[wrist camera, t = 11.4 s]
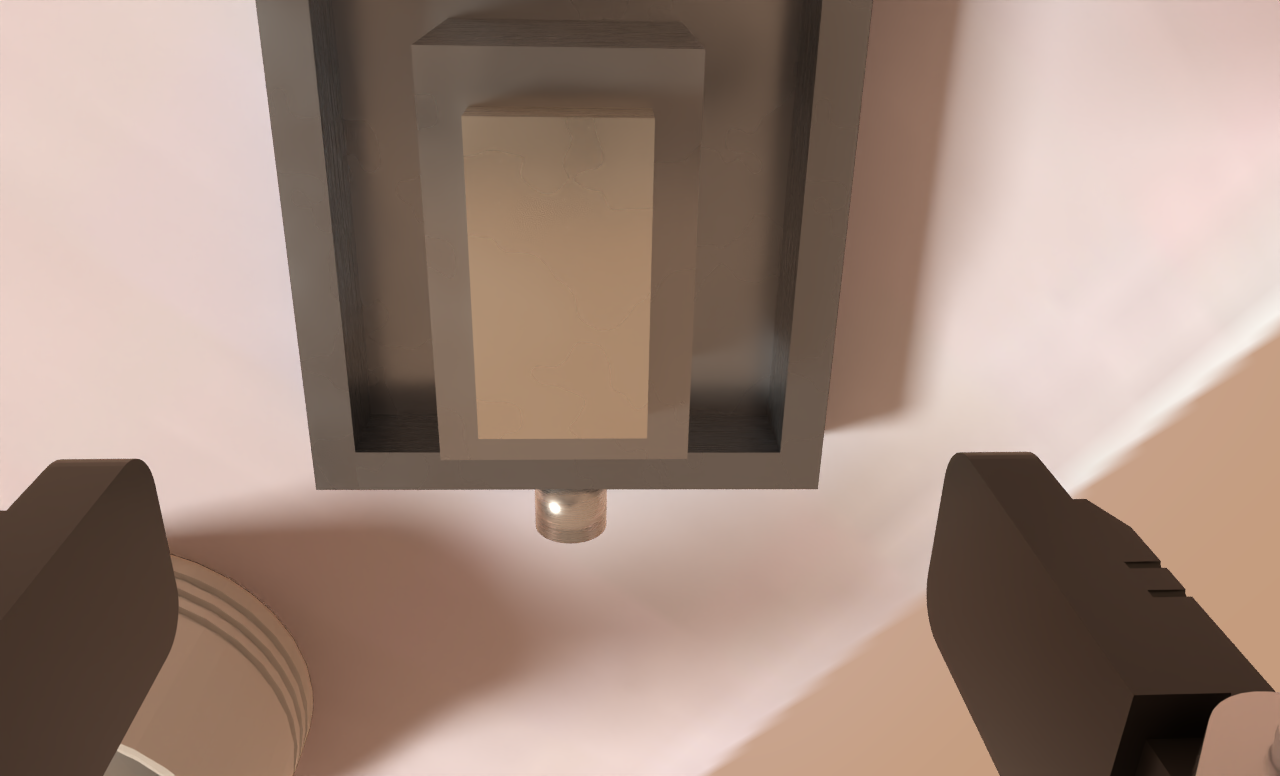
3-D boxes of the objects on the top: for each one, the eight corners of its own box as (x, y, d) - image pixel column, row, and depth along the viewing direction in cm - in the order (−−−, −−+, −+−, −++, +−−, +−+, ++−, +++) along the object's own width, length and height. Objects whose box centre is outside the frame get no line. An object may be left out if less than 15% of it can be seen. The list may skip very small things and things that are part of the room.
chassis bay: (269, -209, 20) (227, -225, 18) (861, -189, 21) (895, -203, 19) (346, 491, 27) (323, 546, 25) (792, 491, 28) (811, 544, 26)
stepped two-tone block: (448, 18, 22) (401, 51, 16) (681, 21, 22) (711, 56, 17) (467, 362, 25) (433, 485, 20) (669, 361, 25) (692, 483, 20)
